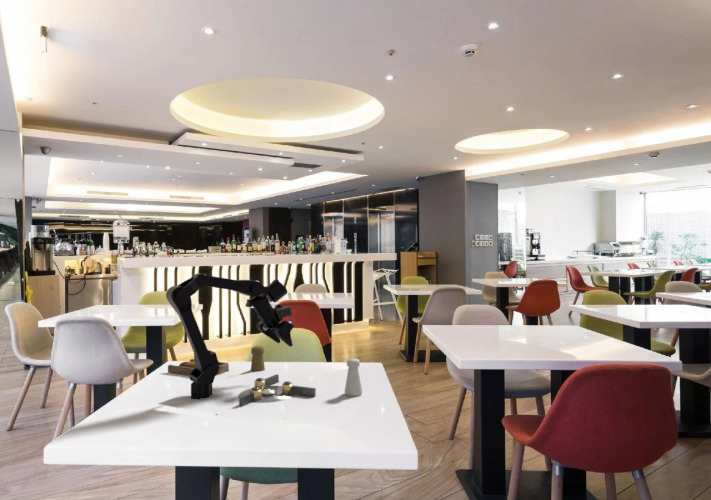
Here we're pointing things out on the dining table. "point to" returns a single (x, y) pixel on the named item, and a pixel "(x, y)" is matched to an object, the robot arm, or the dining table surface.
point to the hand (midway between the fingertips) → (285, 344)
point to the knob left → (266, 381)
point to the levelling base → (262, 395)
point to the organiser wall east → (218, 364)
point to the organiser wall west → (179, 370)
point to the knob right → (297, 390)
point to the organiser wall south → (223, 368)
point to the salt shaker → (353, 378)
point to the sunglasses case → (188, 364)
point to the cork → (257, 359)
